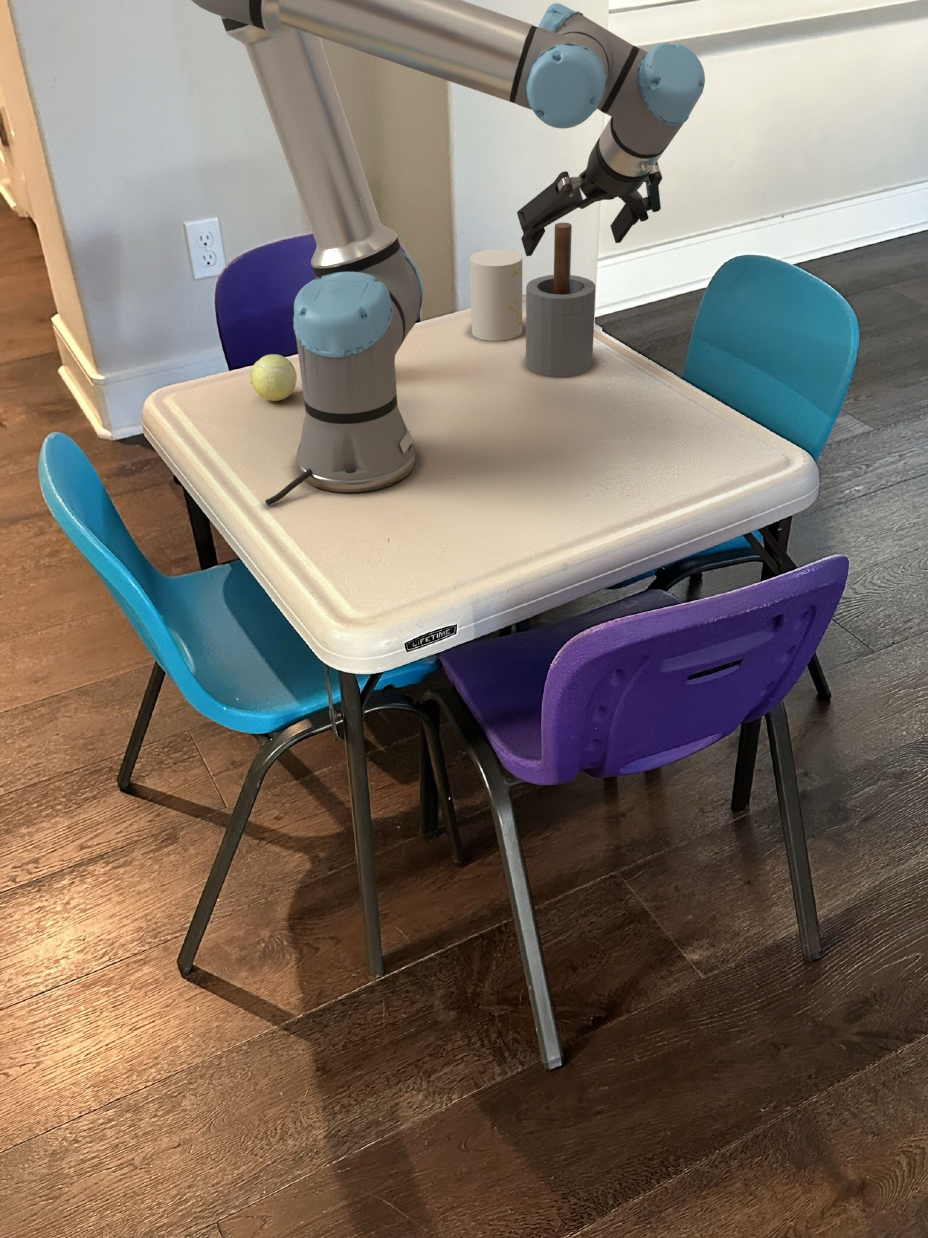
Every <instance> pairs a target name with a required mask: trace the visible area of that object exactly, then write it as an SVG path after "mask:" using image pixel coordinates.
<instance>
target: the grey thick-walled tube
mask: <svg viewBox="0 0 928 1238" xmlns="http://www.w3.org/2000/svg"><path fill="white" fill-rule="evenodd" d="M553 286H554V274H547V275H543V276H539V277H536V278H534V279H530V280H529V281H528V282H527V283H526V287H525V288H526V289H525V365H526V367H527V368H528V369H529V370H530V371H531V372H532V373H535V374H536V375H541V376H545V377H551V378H566V377H574V376H578V375H581V374H583V373H586V372H587V371H590V369H591V368H592V366H593V358H594V356H593V355H594V335H595V334H594V332H595V312H596V311H595V310H596V309H595V307H596V286H597V285H596V284H595V283H594V281H593V280H591V279H589V278H587V277H583V276H580V275H575V274H570V294H564V295H561V294H553Z"/></svg>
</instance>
